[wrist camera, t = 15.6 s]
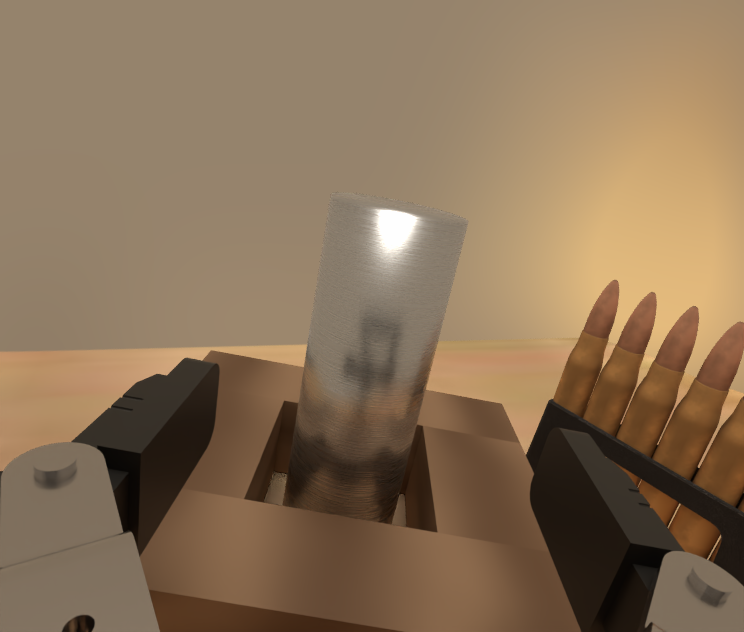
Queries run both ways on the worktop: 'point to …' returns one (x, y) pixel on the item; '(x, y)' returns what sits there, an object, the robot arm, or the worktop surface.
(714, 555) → the ammunition clip
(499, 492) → the walnut socket block
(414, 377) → the steel pin
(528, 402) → the worktop surface
